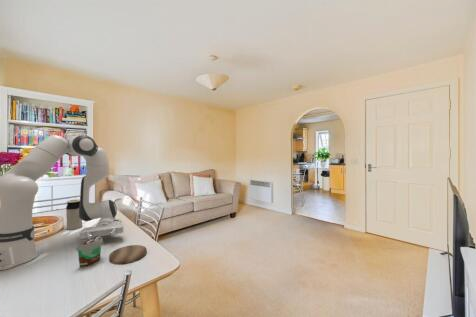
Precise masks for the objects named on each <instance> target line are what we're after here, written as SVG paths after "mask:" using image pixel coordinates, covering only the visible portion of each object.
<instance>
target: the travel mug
mask: <svg viewBox="0 0 476 317" xmlns="http://www.w3.org/2000/svg"><path fill="white" fill-rule="evenodd" d="M66 203H67V205H66V208H65V209H66V230H71V231H73V230H77V229H81V228H82V227H83V220H81V219H80V218H79V207H80V198H79V199H77V198H76V199H69V200H67V201H66Z"/></svg>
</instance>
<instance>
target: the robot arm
mask: <svg viewBox="0 0 476 317" xmlns="http://www.w3.org/2000/svg"><path fill="white" fill-rule="evenodd" d="M65 155H68V156H71V157H82V158H83V159H84V160H85V162H86V173H85V175H84V176H82V179H81V182H80V193H79V194H80V195H79V196H80V197H79V199H80V207H79V218H80V219H81V220H82V222H83V221H84V222H90V221H92V220H97V219H99V220H98V221H97V224H96V225H95V226H90V227H85V228H83V229H82V230H80V231H79V239H81V240H82V239H87V240H91V239H93V238H94V237H95V235H99V236H101V237H102V236H103V237H105V236H109V237H112V236H114V235H116V234H117V235H118V234H122V233H124V231H125V230H124V223H123V221H122V219H117V218H116V216H117V214H118V213H117V212H118V211H117V205H116V203H115V202H114V201H113V200H111V199H105V200H101V201H96V202H90V189H91V187H92V186H94V185H95V184H97V183H99V182H102V181H103V180H105V179H106V178H108V176H109V174H110V164H109V159H108V157H107V153H106V150H105V149H104V148H102V147H99V146H98V145H97V144H96V142H95V139H93V138H92V137H90V136H88V135H76V136H75V135H74V136H72V137H68V138H65V137H63V136H60V135H57V134H51V135H49V136H47V137H46V138H44V139H43V140H42V141H41V142H39V143H38V144H37V145H35V147H34V148H33V149H31V151H29V153H28V154H26V155H25V156H24V157H23V158H22V159H21V160H20V161H19V162H18V163H16V164H14V166H12V167H10V168H9V169H8V170H7V171H6V172H4V173H3V174H2V175H1V176H0V198H1V203H0V271H5V270H9V269H12V268H14V267H16V266H19V265H22V264H25V263H27V262H30V261H32V260H33V259H36V258H37V257H38V256H39V252H38V250H37V248H36V243H35V236H36V235H35V232H36V231H35V226H34V225H33V224H34V223H33V209H34V204H35V203H34V202H35V200H36V195H37V194H38V191H39V185H38V183H37V182H36V181H38V180H39V179H40V178H42V177H43V176H45V175H47V173H48V172H49V171H51V169H52V168H53V167H54V166H55V165H56V164H57V162H58V161H60V159H61V158H62V157H63V156H65Z"/></svg>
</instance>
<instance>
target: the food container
mask: <svg viewBox="0 0 476 317" xmlns="http://www.w3.org/2000/svg"><path fill="white" fill-rule="evenodd" d="M103 242H104V240H103V238H102V236H99V235H95V237H92V239H87V240H86V241H85V242H84V243H83V244H78V245H77V246H76V251H77V255H78V262H79V268H84V267H89V266H92V265H95V264H97V263H98V262H100V260H101V253H102V252H101V250H102V244H103Z"/></svg>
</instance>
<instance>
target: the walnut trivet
mask: <svg viewBox="0 0 476 317" xmlns="http://www.w3.org/2000/svg"><path fill="white" fill-rule="evenodd" d="M147 251H148V250H147V247H146V246H145V245H140V244H138V245H137V244H131V245H126V246H122V247H119V248H116V249H115V250H113V251H111V253H109V255H108V262H110V263H111V264H114V265H126V264H131V263H134V262H137V261H139V260H141V259H143V258H144V257H145V256H146V255H147Z"/></svg>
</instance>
